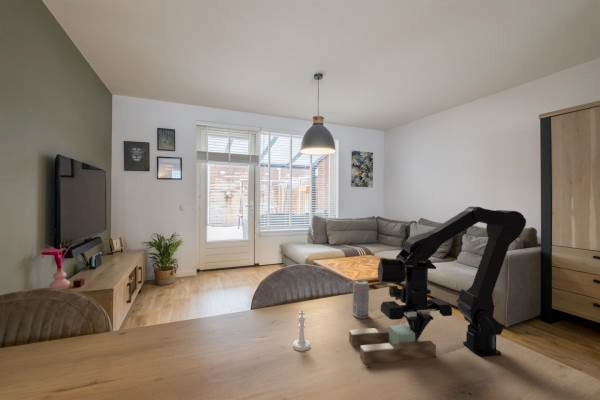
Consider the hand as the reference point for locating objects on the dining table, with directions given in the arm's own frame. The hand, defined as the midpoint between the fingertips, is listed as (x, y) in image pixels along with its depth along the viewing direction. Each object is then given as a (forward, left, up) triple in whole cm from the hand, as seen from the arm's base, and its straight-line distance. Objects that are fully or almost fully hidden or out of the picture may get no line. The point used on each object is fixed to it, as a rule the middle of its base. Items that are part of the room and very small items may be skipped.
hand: (415, 338), depth 75 cm
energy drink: (+8, -21, -2) cm, 22 cm away
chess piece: (+32, -5, -2) cm, 32 cm away
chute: (+8, 0, -2) cm, 8 cm away
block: (+4, 0, -2) cm, 5 cm away
